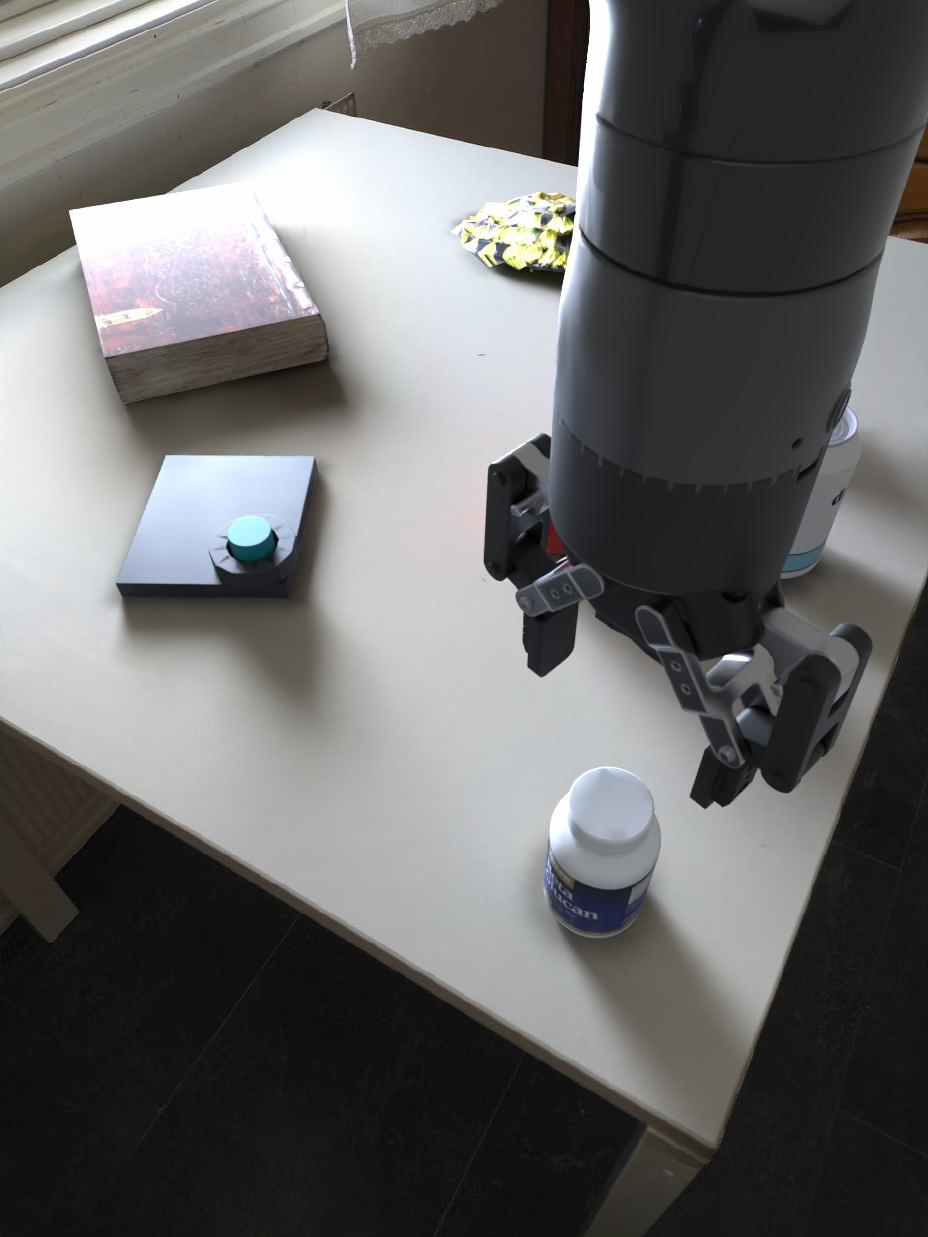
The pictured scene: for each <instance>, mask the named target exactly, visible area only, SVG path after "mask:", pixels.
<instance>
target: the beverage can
mask: <svg viewBox="0 0 928 1237" xmlns="http://www.w3.org/2000/svg"><path fill="white" fill-rule="evenodd" d="M858 430H859V420H858V416H857V415H856V413H855V411H854V410H853V409H852V408H851V407H850V406H849V405H847V407H846V409H845V412H844V414H843V416H842V418H841V420H840V422H839V424H838V425H837V427H836V428H835V429H834V430H833V433H832V436H831V439H830V441H829V444H828V447H827V450H826V453H825V456H824V458H823V461H822V464H821V467H820V470H819V473H818V476H817V479H816V481H815V484H814V487H813V490H812V493H811V496H810V498H809V501H808V504H807V507H806V510H805V513H804V515H803V518H802V521H801V524H800V527H799V530H798V532H797V535H796V538H795V541H794V543H793V546H792V548H791V551H790V553H789V555H788V557H787V560H786V562H785V564H784V566H783V569H782V572H781V580H784V579H785V580H786V579H792V578H796V577H799V576H803V575H805V574H807V573H809V572H810V571H811V570H812V569H813V568H814V567H815V566H816V565H817V564H818V563H819V560H820V558H821V555H822V553H823V551H824V548H825V545H826V542H827V540H828V537H829V535H830V534H831V530H832V527H833V525H834V522H835V519H836V517H837V515H838V512H839V510H840V507H841V504H842V502H843V500H844V497H845V494H846V492H847V489H848V487H849V484H850V482H851V480H852V476H853V474H854V471H855V469H856V467H857V464H858V462H859V459H860V456H861V451H862V443H861V439H860V435H859V432H858Z"/></svg>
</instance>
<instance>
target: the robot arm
mask: <svg viewBox="0 0 928 1237" xmlns="http://www.w3.org/2000/svg"><path fill="white" fill-rule="evenodd" d="M588 1H589V10H590V11H589V12H590V13H589V14H590V18H589V19H590V20H589V21H590V30H589V43H588V50H587V60H586V62H587V63H586V68H585V76H584V84H583V89H584V91H583V95H582V96H583V98H582V109H581V110H582V111H581V124H580V125H581V126H580V138H579V139H580V140H579V152H578V153H579V155H578V168H577V170H578V171H577V183H576V196H575V197H576V199H575V200H576V215H575V222H574V231H573V239H572V244H571V249H570V254H569V259H568V263H567V267H566V272H565V273H564V278H563V282H562V287H561V288H562V289H561V294H560V300H559V309H558V319H557V320H558V321H557V336H556V351H555V352H556V353H555V370H554V386H553V387H554V388H553V404H552V420H551V436H550V435H549V434H547V433H544V432H540V433H538V434H536V435H534V436H533V437H532V438H529V439H528V440H527V441H525V442H524V443H522V444H520V445H519V446H517V447H515V448H514V449H512V450H510V452H508V453H506V454H505V455H503V456H502V457H500V458H498V459H497V460H494V461H493V462H492V463H491V464H489V465H488V467H487V480H486V482H487V483H486V498H485V499H486V501H485V520H484V521H485V522H484V524H485V525H484V543H483V565H484V568H485V570H486V572H487V573H488V574H489V576H491V578H493V580H495V581H498V582H503V581H505V580H506V579H508V580H509V581H510V583H511V584H512V585H513V586H514V587H515V589H516V590H517V591H516V592H515V596H514V597H515V601H516V603H517V606H518V607H519V608H520V610H521V611H522V612H523V614H522V626H523V627H522V645H523V648H524V651H525V653H526V654H527V659H526V660H527V661H526V664H527V665H526V667H527V668H528V669H529V670H530V671H531V672H533V673H534V675H536V676H538V677H539V678H544V677H546V676H548V674H550V673H551V672H552V671H553V670H554V669H556V668H557V667H559V666H560V665H561V664H562V663H563V662H565V661H566V660H567V659H568V658H569V657H570V656H571V655H572V654H573V652H574V649H575V646H576V636H577V627H578V617H579V609H580V602H581V601H582V602H583V601H586V602H588V604H589V605H590V606H591V608H592V609H593V610H594V611H595V612H594V618H595V619H596V620H598V621H599V622H601V623H602V624H604V625H605V626H607V627H608V628H609V629H610V630H613V631H614V632H616V633H619V634H621V635H623V636H625V637H627V638H629V639H630V640H631V641H632V642H633V643H634V644H635V645H636V646H637V647H638V648H639V649H640V650H641V651H642V652H643V653H644V654H645V655H646V656H648V657H649V658H651V659H652V660H654V662H656V663H657V664H659V665H661V666H662V667H663V669H664V672H665V674H666V677H667V678H668V681H669V683H670V685H671V688H672V691H673V693H674V694H675V697H676V700H677V701H678V703H679V706H680V708H681V710H682V711H683V712H685V713H688V714H693V715H696V716H697V717H698V719H699V722H700V724H701V727H702V729H703V731H704V733H705V736H706V738H707V740H708V743H709V745H707V746H706V747H705V748H704V750H703V753H702V755H701V756H702V757H701V760H700V763H699V765H698V768H697V772H696V774H695V778H694V781H693V784H692V787H691V790H690V793H689V798H690V799H691V800H692V801H694V802H695V803H696V804H697V805H699V807H701V808H702V809H704V810H706V809H708V808H709V807H710V806H711V805H712V804H714V802H715V803H716V804H717V805H718V806H720V807H721V808H726V807H728V806H729V805H731V804H732V802H734V801H735V800H736V799H737V798H738V796H740V795H741V794H742V793H743V792H744V790H746V789H747V788H748V786H749V785H750V784H751V783H752V782H753V781H754V779H755V777H756V773H757V772H758V769H759V770H760V771H759V772H760V775H761V777H762V779H763V780H764V782H765V783H766V784H767V785H768V786H769V787H770V788H772V789H773V790H774V791H776V792H779V793H781V794H785V795H786V794H791V793H792V792H793V791H794V790H795V789H796V788H797V786H798V785H799V784H800V783H801V782H802V779H803V778H804V776H806V774H807V773H808V772H809V771H810V770H811V769H812V768H814V766H815V765H816V764H818V762H819V761H820V759H822V758H823V757H826V755H828V753H830V752H831V750H832V749H833V748H834V747H835V745H836V742H837V740H838V737H839V735H840V732H841V730H842V728H843V725H844V722H845V720H846V718H847V715H848V713H849V710H850V707H851V705H852V703H853V701H854V698H855V695H856V693H857V690H858V688H859V685H860V683H861V680H862V678H863V675H864V672H865V670H866V669H867V668H866V667H867V666H868V662H869V660H870V658H871V655H872V653H873V650H874V644H873V640H872V638H871V636H870V635H869V634H868V632H867V631H866V630H865V629H863V628H862V627H861V626H860V625H857V624H855V623H852V622H843V623H840V624H838V625H836V627H834V629H833V630H831V632H829V633H827V632H826V631H823V630H821V629H820V628H818V627H816V626H815V625H813V624H811V623H809V622H808V621H807V620H804V619H802V618H801V617H799V616H797V615H795V614H794V613H793V612H791V611H788V610H787V609H786V600H785V596H784V592H783V587H782V579H781V572H782V569H783V566H784V564H785V562H786V560H787V557H788V555H789V553H790V551H791V548H792V546H793V543H794V541H795V538H796V535H797V532H798V530H799V527H800V524H801V521H802V518H803V515H804V513H805V510H806V507H807V504H808V501H809V498H810V496H811V493H812V490H813V487H814V484H815V481H816V479H817V476H818V473H819V470H820V467H821V464H822V461H823V458H824V456H825V453H826V450H827V447H828V444H829V441H830V439H831V436H832V433H833V430H834V429H835V428H836V427H837V425H838V424H839V422H840V420H841V418H842V416H843V414H844V412H845V409H846V407H847V406H849V405H848V404H849V402H850V399H851V396H852V392H853V389H852V380H853V379H852V378H853V376H854V373H855V371H856V367H857V364H858V362H859V359H860V356H861V353H862V351H863V347H864V343H865V340H866V336H867V332H868V328H869V323H870V318H871V315H872V314H871V313H872V307H873V302H874V295H875V291H876V285H877V280H878V276H879V270H880V267H881V263H882V261H883V258H884V254H885V250H886V244H887V241H888V238H889V235H890V232H891V229H892V226H893V224H894V220H895V218H896V214H897V212H898V209H899V205H900V202H901V201H902V197H903V194H904V191H905V188H906V185H907V183H908V180H909V176H910V173H911V171H912V167H913V165H914V162H915V159H916V156H917V153H918V151H919V150H918V149H919V147H920V144H921V141H922V139H923V135H924V132H925V129H926V127H927V123H928V0H588ZM551 521H552V524H553V526H554V528H555V531H556V533H557V535H558V537H559V540H560V542H561V544H562V547H563V549H564V551H565V553H566V554H565V555H566V556H565V557H563V558H560V559H558V561H556V560H555V559H553V558H552V556H551V555H549V554H550V553H548V552H546V551H545V550H546V549H547V546H548V538H549V530H550V523H551ZM718 658H721V660H719V661H718V662H717V663H716V664H714V666H712V667H711V669H709V671H707V672H706V671H705V669H704V666H703V664H702V663H703V662H707V661H710V660H715V659H718ZM772 662H773V675H774V677H775V679H776V680H774V681H773V682H772V683H770V679H769V672H770V668H771V666H772ZM777 698H781V699H780V702H779V701H778V700H777ZM738 699H739V702H740V704H741V707H742V710H743V711H741V713H740V714H739V715H738V716H737V717H736V714H735V711H734V704H735V702H736V701H737V700H738Z"/></svg>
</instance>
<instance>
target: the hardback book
mask: <svg viewBox="0 0 928 1237" xmlns="http://www.w3.org/2000/svg"><path fill="white" fill-rule="evenodd" d="M68 212H69V217H70V220H71V224H72V225H71V226H72V228H73V233H74V237H75V241H76V246H77V250H78V254H79V258H80V262H81V266H82V271H83V275H84V279H85V283H86V287H87V291H88V296H89V299H90V305H91V308H92V313H93V317H94V321H95V325H96V329H97V332H98V333H97V334H98V339H99V342H100V346H101V351H102V355H103V359H104V360H105V363H106V366H107V369H108V372H109V374H110V377H111V379H112V382H113V385H114V388H115V390H116V393H117V395H118V398H119V400H120V404H121V405H124V404H129V403H132V402H133V403H134V402H138V401H144V400H146V399H152V398H156V397H160V396H161V397H162V396H166V395H171V394H175V393H179V392H184V391H188V390H192V389H197V388H202V387H207V386H212V385H215V384H222V383H224V382H225V383H226V382H229V381H234V380H235V381H236V380H239V379H243V378H249V377H252V376H257V375H262V374H267V373H271V372H275V371H280V370H284V369H289V368H293V367H298V366H303V365H308V364H312V363H317V362H321V361H326V360H328V358H329V349H330V346H329V340H328V335H327V328H326V324H325V321H324V319H323V317H322V315H321V313H320V310H319V309H318V307H317V305H316V303H315V302H314V300H313V298H312V296H311V295H310V293H309V291H308V289H307V287H306V285H305V284H304V282H303V280H302V278H301V276H300V274H299V272H298V271H297V270H296V267H295V266H294V264H293V262H292V259H291V258H290V257H289V255H288V253H287V250H286V249H285V247H284V246H283V244H282V242H281V240H280V239H279V237H278V235H277V233H276V232H275V230H274V228H273V226H272V224H271V222H270V220H269V218H268V217H267V214H266V213H265V211H264V209H263V207H262V206H261V204H260V202H259V201H258V199H257V197H256V195H255V193H254V191H253V189H252V188H251V186H250V184H249V183H248V181H247V180H245V181H240V182H234V183H227V184H222V185H215V186H209V187H204V188H197V189H191V190H186V191H180V192H179V191H178V192H173V193H167V194H161V195H155V196H149V197H148V196H147V197H144V198H143V197H142V198H136V199H131V200H124V201H117V202H113V203H106V204H101V205H100V204H99V205H95V206H94V205H93V206H87V207H82V208H76V209H75V208H74V209H71V210H69V211H68Z"/></svg>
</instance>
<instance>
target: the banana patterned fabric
mask: <svg viewBox="0 0 928 1237" xmlns="http://www.w3.org/2000/svg"><path fill="white" fill-rule="evenodd" d="M575 215H576V199H574V198H571V197H568V196H566V195H564V194H562V193H560V192H553V193H552V192H551V193H546V192H542V191H539V192H535V193H531V194H528V195H522V196H520V197H519V196H518V197H516V198H513V199H510V200H507V201H506V200H505V201H503V202H486V204H485V206H484V207H483V208H481V210H480V211H479V212H478V213H477V214H476V215H475V216H473V215H470V218H469V220H467V219H464V220H463V221H462V222H461V223H460V224H459V225H458V226H455V228H454V230H451V231H450V232H451V233H452V234H453V235H456V236H457V237H459V238H460V239H461V241H460V242H461V245H462V246H463V247H464V248H465V249H466V250H467V251H468V252H469V253H471V254H472V255H473V256H474V257H475V258H476V259H478V260H479V261H480V262H481V263H482V264H483V265H485V267H487V268H488V269H490V268H492V267H494V266H498V265H500V264H501V265H502V264H505V263H506V264H507V265H508V266H511V267H512V268H514V269H516V270H518V271H520V270H521V269H523V268H525V267H527V268H530V269H529V271H530V272H533V271H534V270H536V271H538V270H539V271H541V270H542V271H546V272H551V271H552V272H554V273H564V274H565V272H566V267H567V263H568V259H569V254H570V249H571V244H572V239H573V231H574V222H575Z"/></svg>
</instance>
